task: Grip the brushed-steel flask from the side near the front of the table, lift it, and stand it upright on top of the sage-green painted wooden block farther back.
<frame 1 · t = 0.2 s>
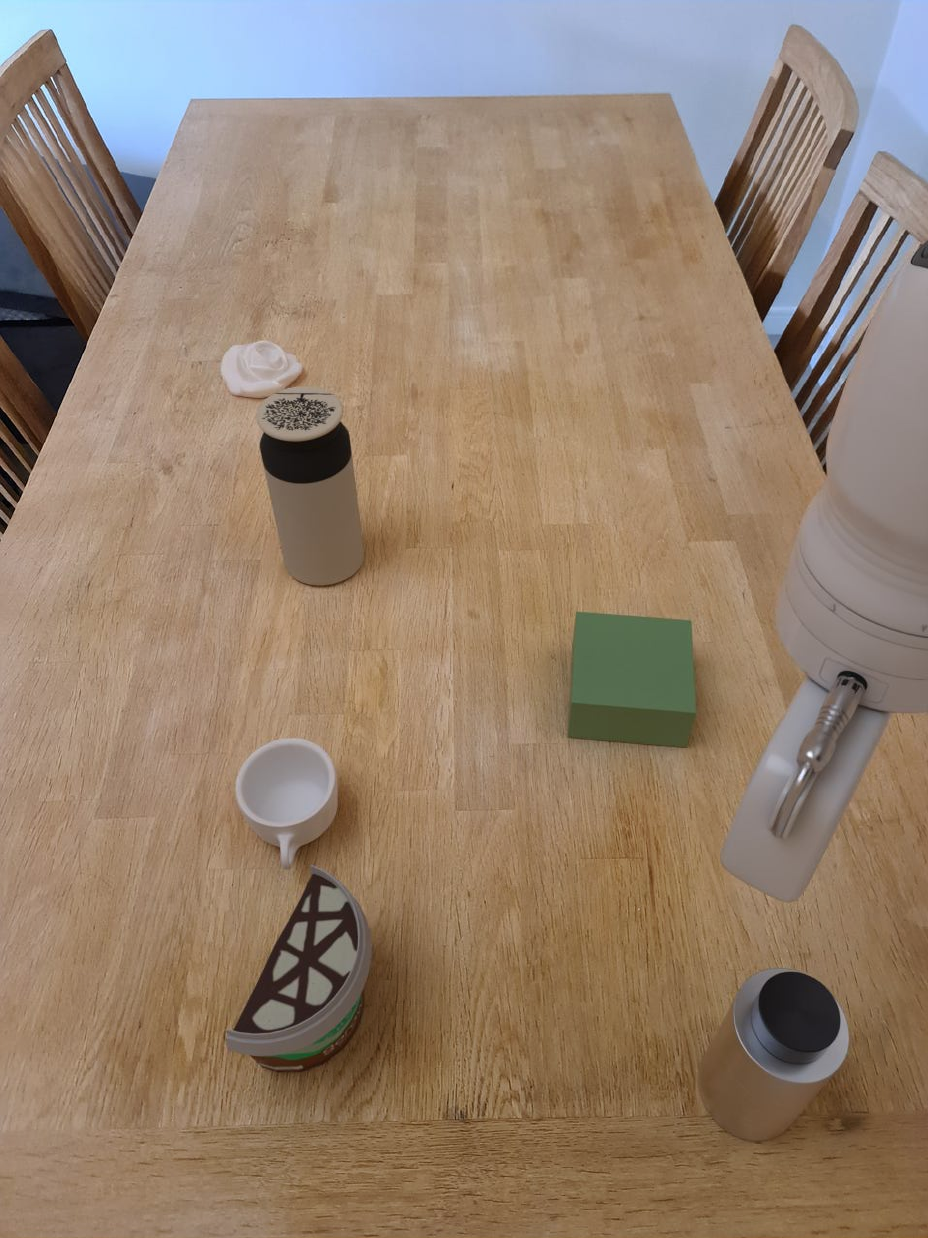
hand: (811, 785, 50), 25 cm above the table, tool pointing down, fingers open, 8 cm apart
flask: (747, 1088, 64), on the table
rose: (263, 378, 118), on the table
teacup: (295, 830, 77), on the table
food container: (333, 1017, 67), on the table
travel mug: (325, 560, 97), on the table
green block: (626, 695, 85), on the table
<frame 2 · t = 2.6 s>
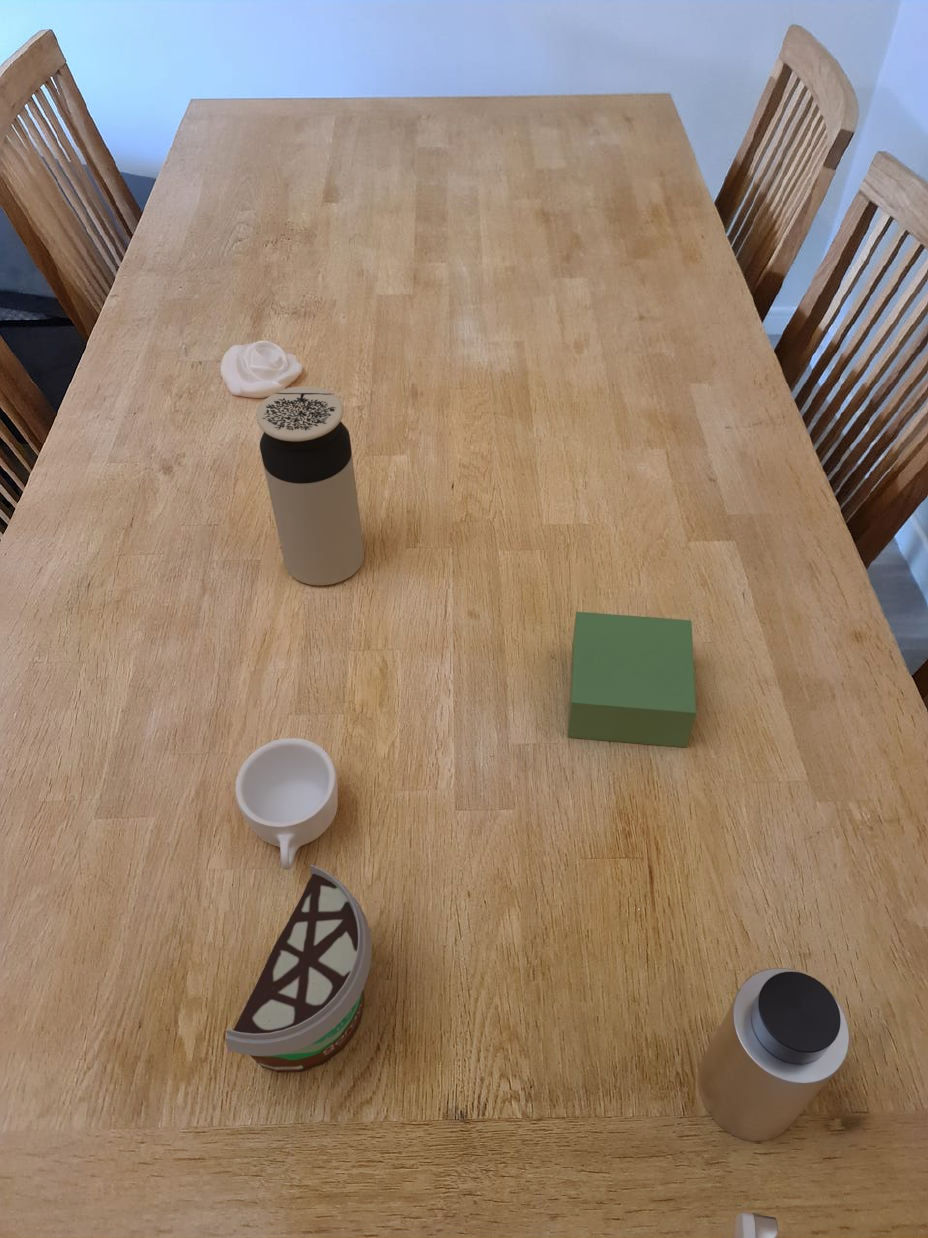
hand: (868, 1235, 41), 20 cm above the table, tool horizontal, fingers open, 8 cm apart
nothing on the table moved.
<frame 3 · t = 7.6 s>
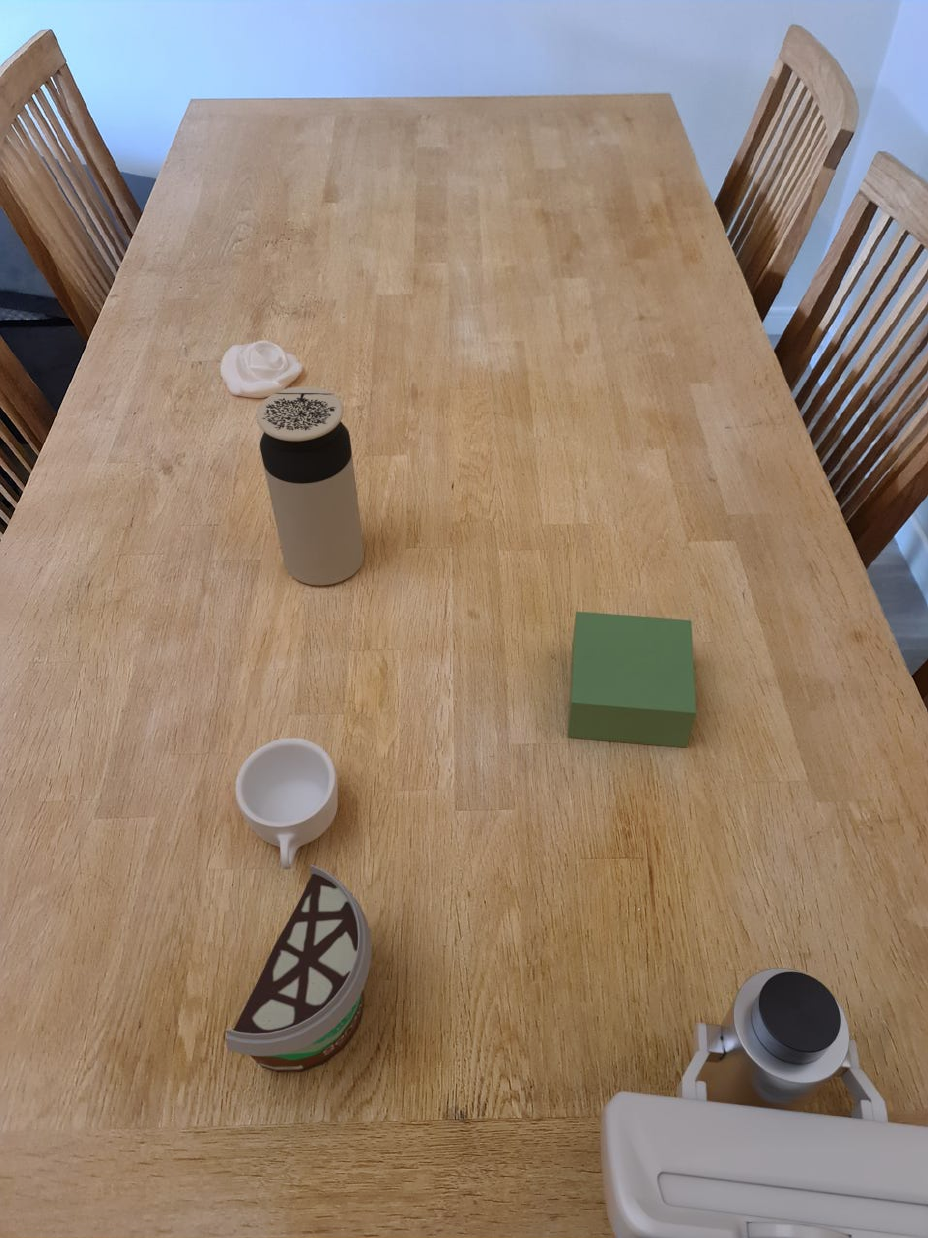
hand: (771, 1033, 59), 8 cm above the table, tool horizontal, fingers closed on flask, 6 cm apart
flask: (747, 1088, 64), on the table, touching gripper
everything else where it was.
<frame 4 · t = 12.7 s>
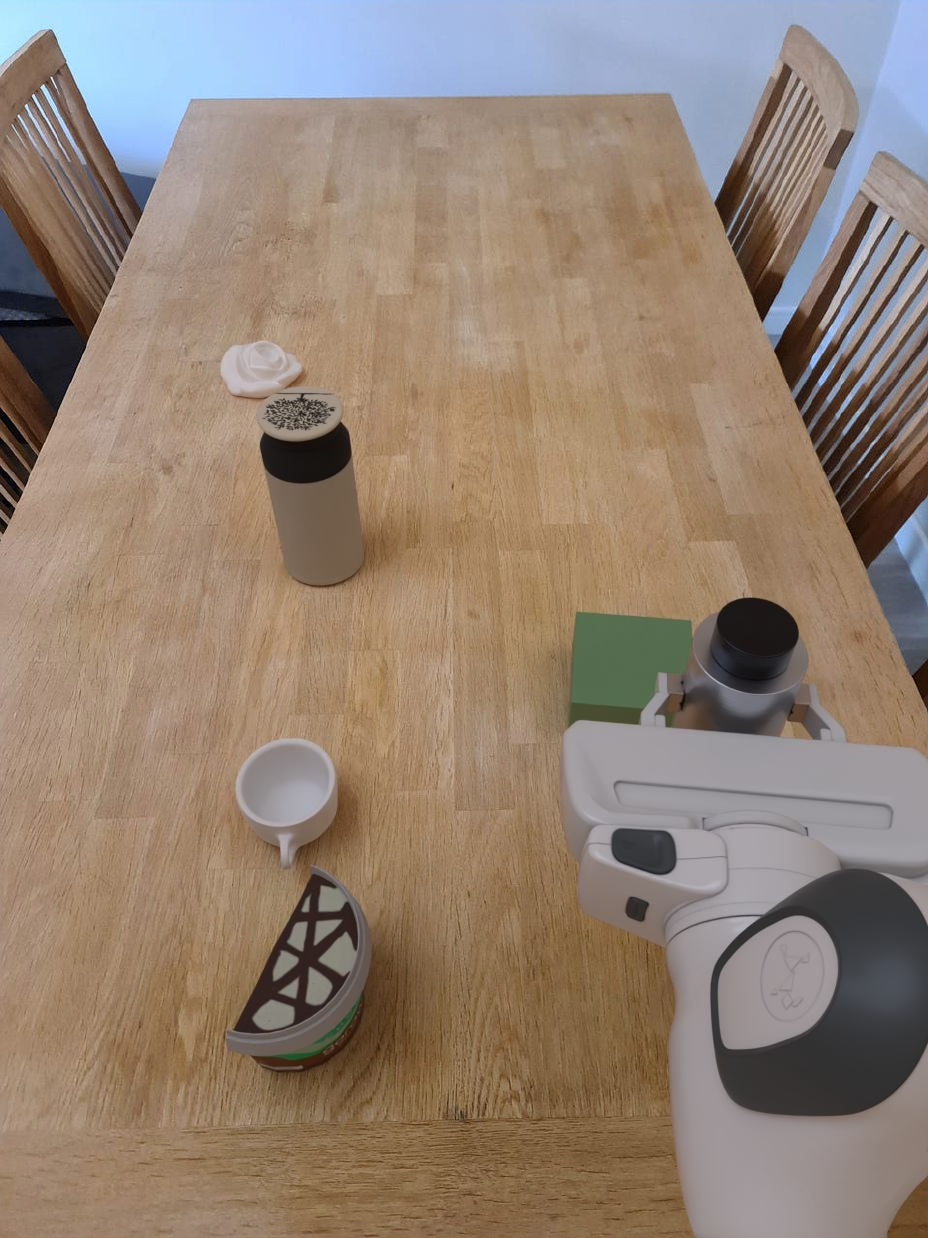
hand: (733, 684, 58), 22 cm above the table, tool horizontal, fingers closed on flask, 6 cm apart
flask: (711, 768, 63), point 14 cm above the table, touching gripper
everything else where it was.
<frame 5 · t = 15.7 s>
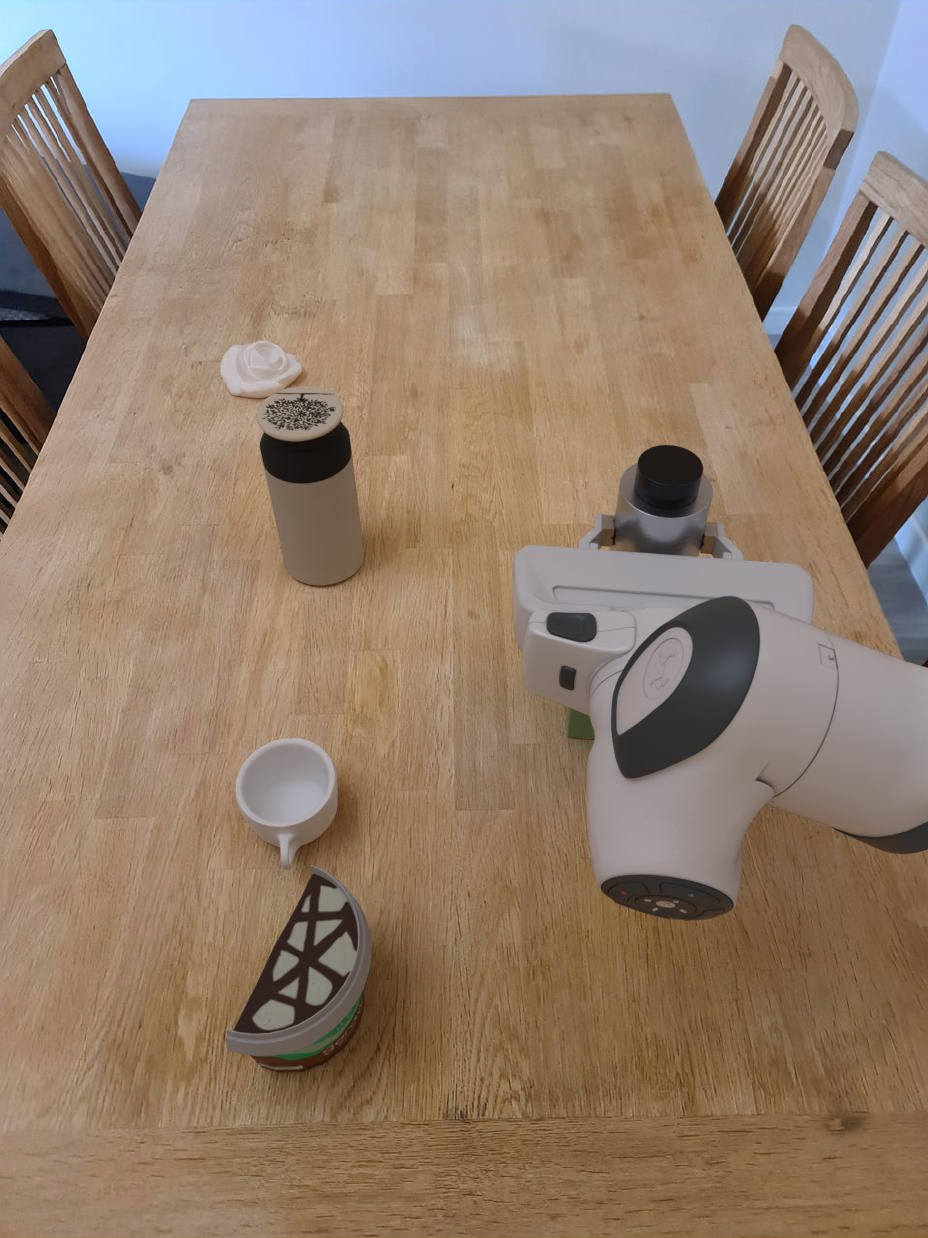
hand: (656, 524, 71), 20 cm above the table, tool horizontal, fingers closed on flask, 6 cm apart
flask: (643, 604, 76), point 12 cm above the table, touching gripper
everything else where it was.
when the fingers open (13 cm above the table, at t = 18.2 s): flask stays where it is, resting on green block.
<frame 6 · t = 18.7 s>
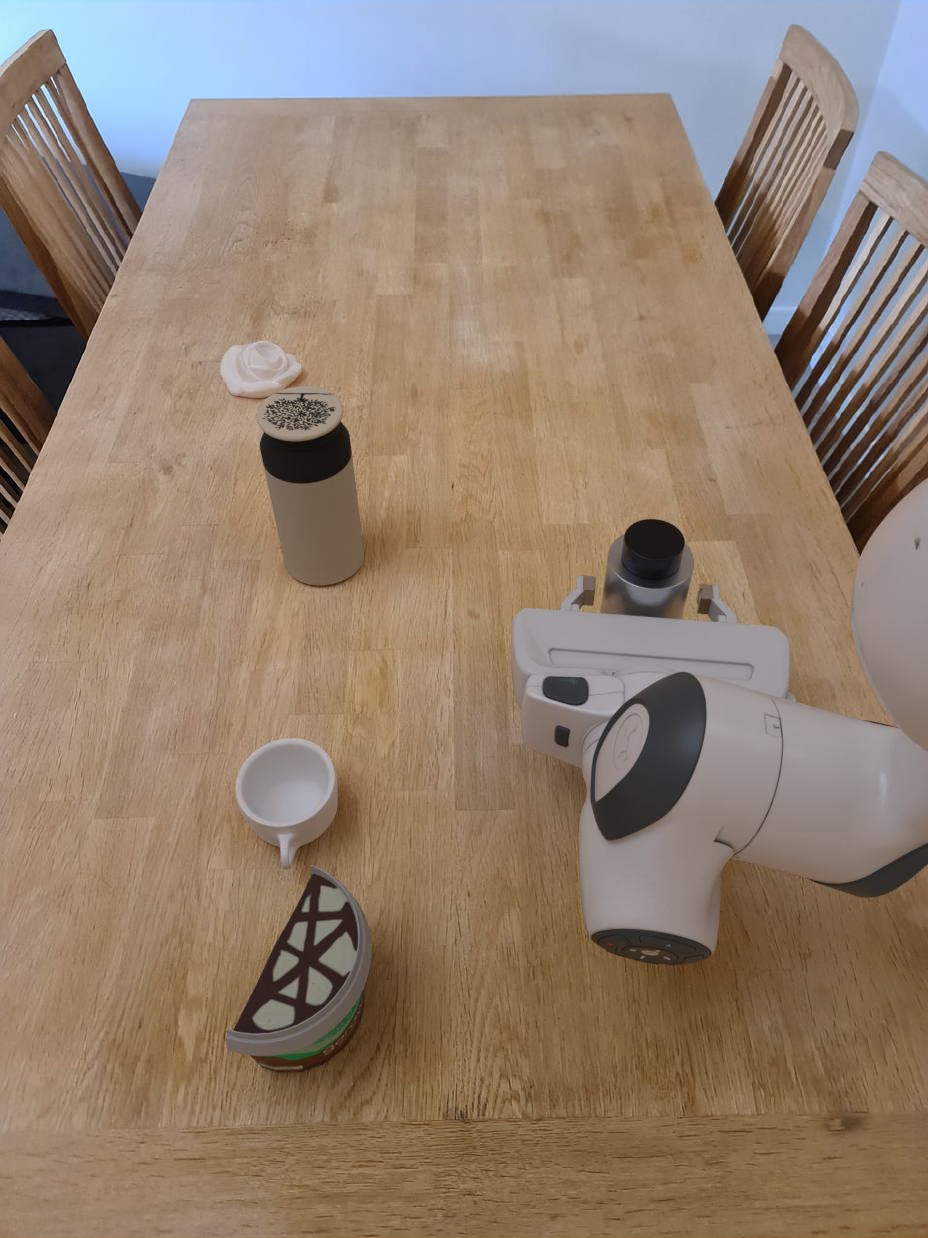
hand: (646, 585, 76), 13 cm above the table, tool horizontal, fingers open, 8 cm apart
flask: (632, 660, 81), point 5 cm above the table, touching green block
everything else where it was.
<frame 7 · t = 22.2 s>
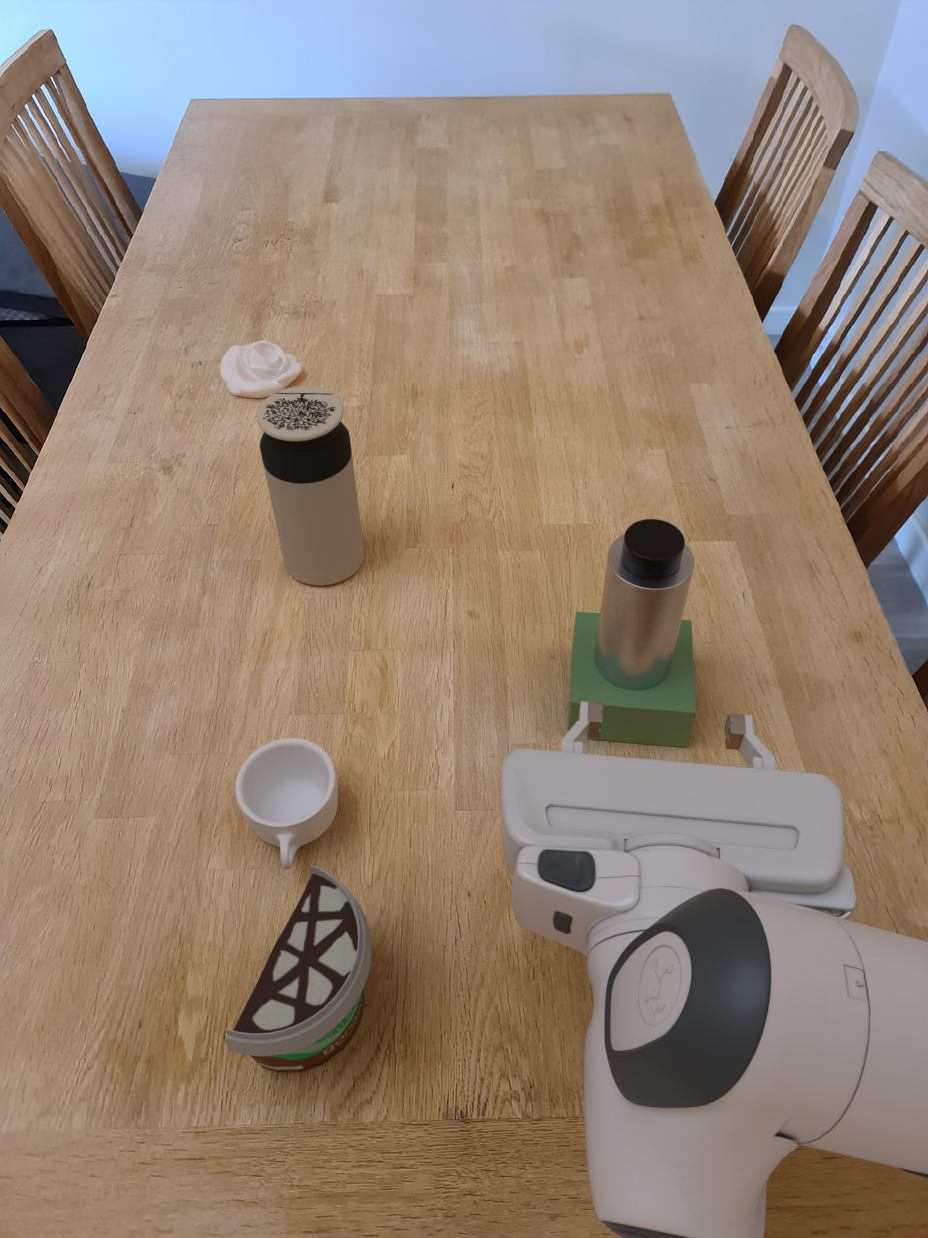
hand: (663, 713, 63), 17 cm above the table, tool horizontal, fingers open, 8 cm apart
nothing on the table moved.
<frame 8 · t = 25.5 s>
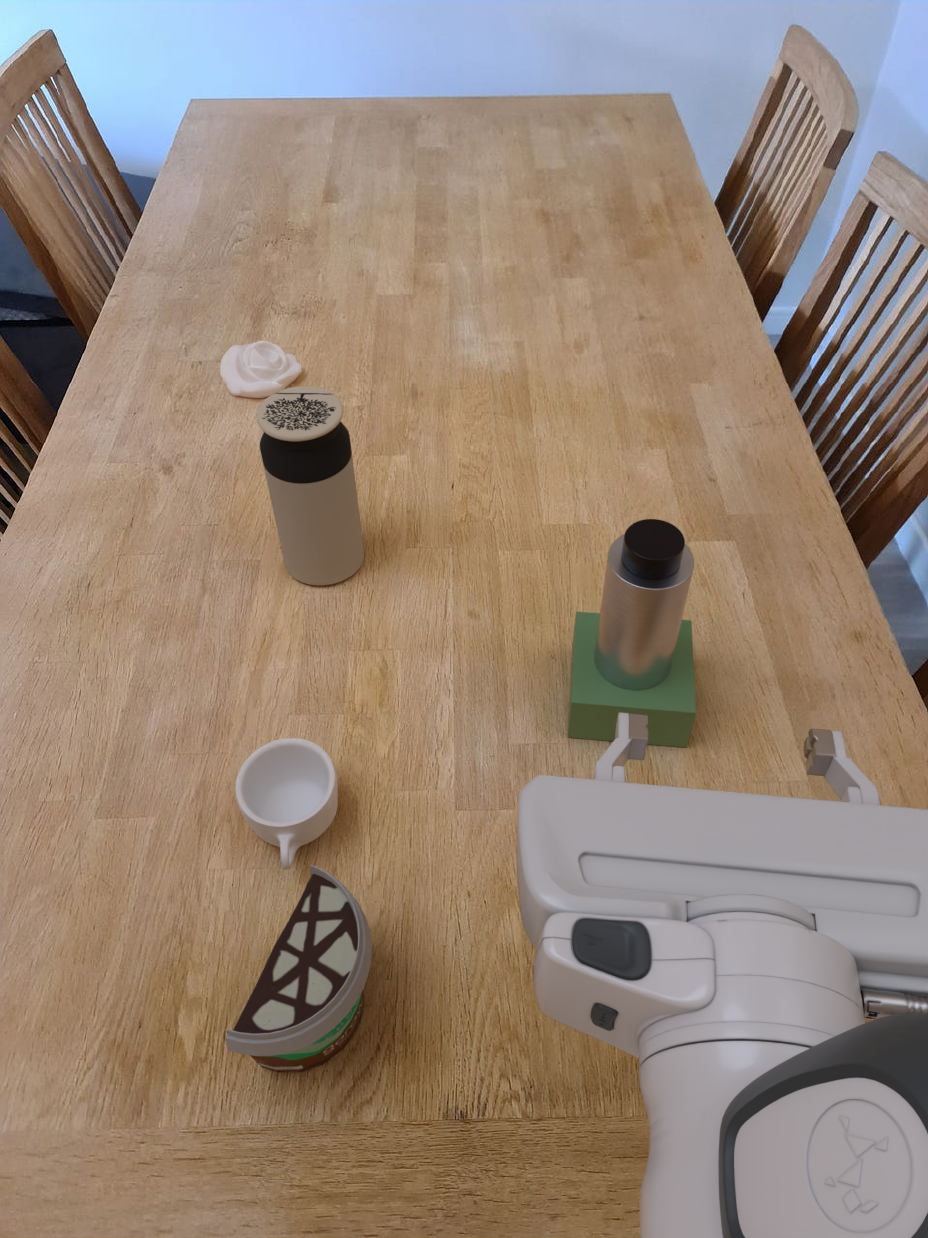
hand: (725, 728, 49), 28 cm above the table, tool horizontal, fingers open, 8 cm apart
nothing on the table moved.
at the end: flask 0.1 cm off-centre on the green block, point 5.0 cm above the green block's base; flask tilted 0°; the gripper is holding nothing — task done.
